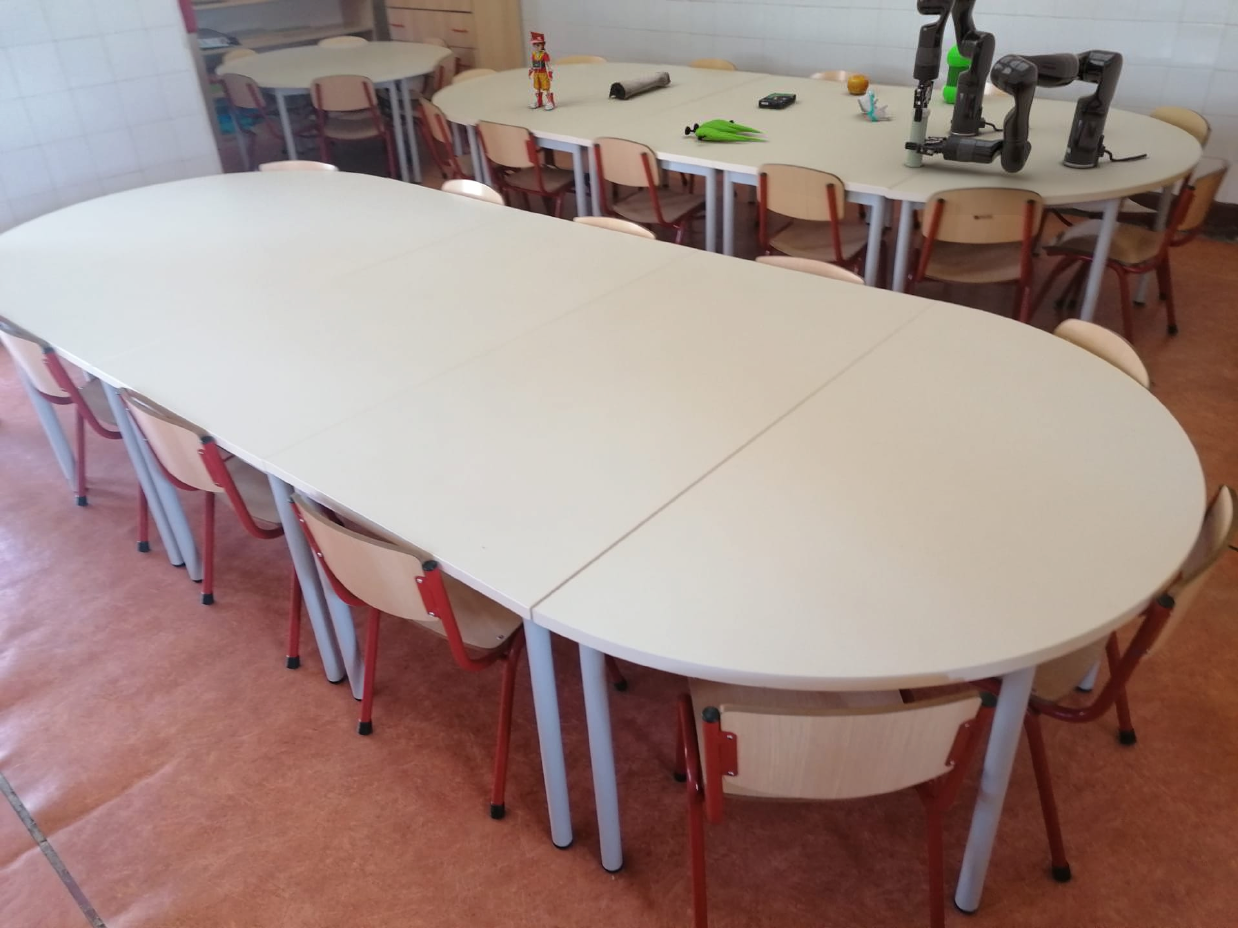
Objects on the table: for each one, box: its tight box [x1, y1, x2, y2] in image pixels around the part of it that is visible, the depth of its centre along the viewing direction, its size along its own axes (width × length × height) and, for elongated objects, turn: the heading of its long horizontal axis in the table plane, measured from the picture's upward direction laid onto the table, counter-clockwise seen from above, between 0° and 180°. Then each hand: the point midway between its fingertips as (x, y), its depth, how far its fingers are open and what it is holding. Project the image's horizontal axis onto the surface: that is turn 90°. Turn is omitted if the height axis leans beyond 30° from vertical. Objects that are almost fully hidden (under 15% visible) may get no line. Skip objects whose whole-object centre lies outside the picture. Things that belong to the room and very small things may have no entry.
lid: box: [911, 107, 931, 117], centre depth 283 cm, size 6×6×2 cm
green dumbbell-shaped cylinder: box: [942, 43, 972, 104], centre depth 348 cm, size 10×10×25 cm
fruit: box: [846, 74, 870, 95], centre depth 372 cm, size 8×8×8 cm
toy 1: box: [527, 31, 556, 111], centre depth 374 cm, size 12×9×30 cm
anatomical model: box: [857, 89, 892, 122], centre depth 341 cm, size 15×10×10 cm
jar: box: [905, 116, 929, 168], centre depth 287 cm, size 5×5×17 cm
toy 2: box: [684, 119, 767, 142], centre depth 329 cm, size 28×5×30 cm
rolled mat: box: [608, 71, 672, 101], centre depth 395 cm, size 30×9×10 cm
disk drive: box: [758, 92, 797, 110], centre depth 365 cm, size 10×3×15 cm
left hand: (919, 119), depth 284 cm, fingers closed on lid, 5 cm apart
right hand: (908, 143), depth 290 cm, fingers closed on jar, 4 cm apart
